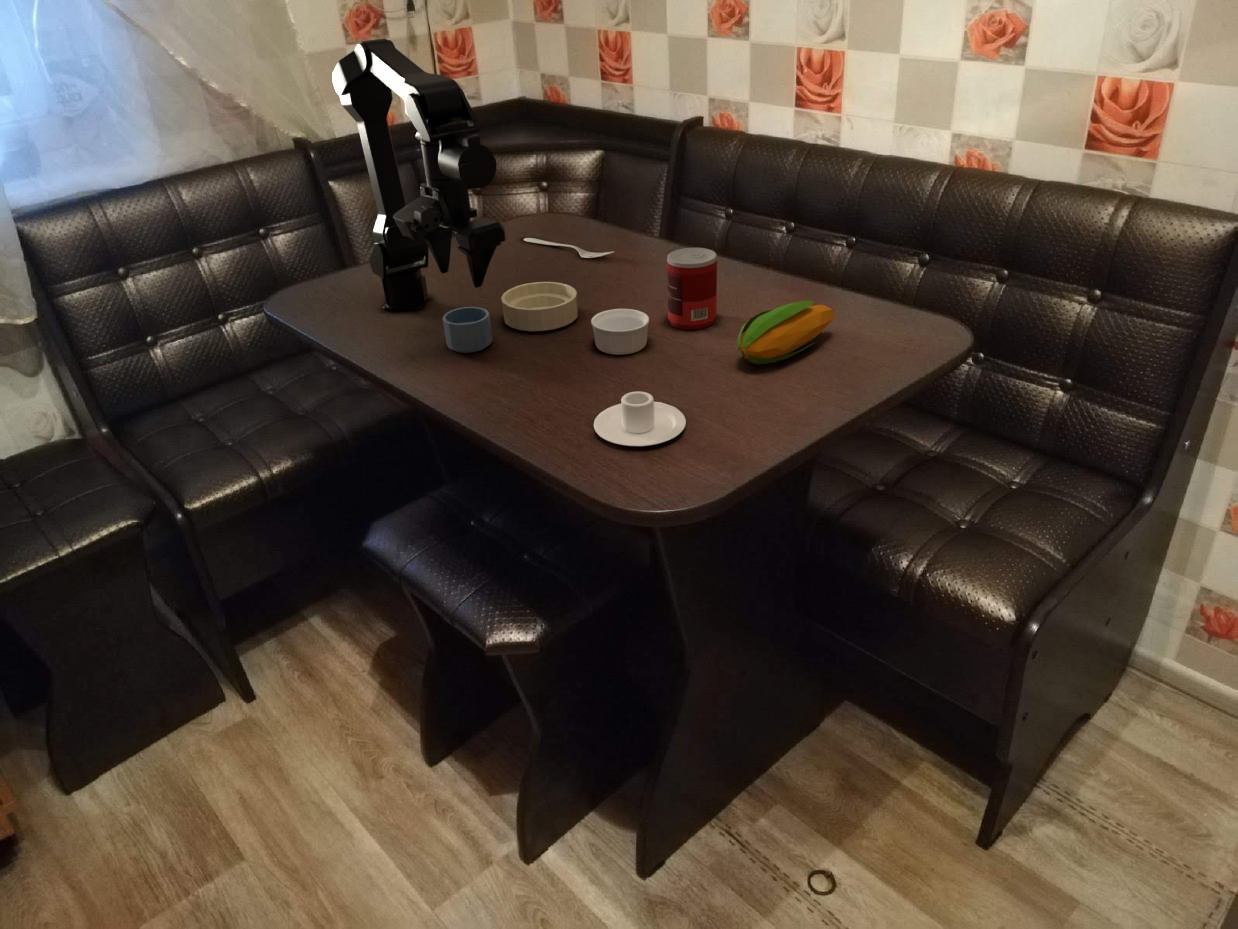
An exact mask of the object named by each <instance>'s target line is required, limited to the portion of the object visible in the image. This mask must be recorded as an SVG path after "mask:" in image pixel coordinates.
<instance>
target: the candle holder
mask: <svg viewBox="0 0 1238 929" xmlns="http://www.w3.org/2000/svg"><path fill="white" fill-rule="evenodd" d="M654 399H655V398H654V396H653V395H652V394H651V393H649V392H647V391H646V392H645V391H630V392H628V393H625V394H624V395H622V397H621V399H620V403H618V404H617V403H616V404H614V405H611V406H609V407H608V408H606V409H604V410H602V411H601V412H600V413H599V414H598V415H597V416H596V417H595V418H594V421H593V428H594V431H595V433H597V435H598V436H599V437H600V438H602V439H603V440H605V441H607V442H609V443H612V444H616V445H621V446H627V447H648V446H654V445H659V444H663V443H665V442H668V441H670V440H673V439H675V438H676V437H677V436H679V435H680V434H681V433H682V432H683V431H684V429H685V428H686V425H687V420H686V416H685V414H684V413H683V412H682V411H680V410H679V409H678V408H677V407H676V406H673V405H671V404H667V403H664V402H660V401H655V400H654Z"/></svg>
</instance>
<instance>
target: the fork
mask: <svg viewBox="0 0 1238 929" xmlns="http://www.w3.org/2000/svg"><path fill="white" fill-rule="evenodd" d="M523 241H525V242H527V243H534V244H539V245H547V246H554V247H566V248H571V249H574V250H576V251H577V252H578V254H579V257H581V258H584V259H595V258H600V257H604V256H605V257H606V256H608V255H610V254H613V253H615V251H614V250H613V251H606V252H595V251H594V252H593V251H588V250H584V249H582V248H580V247H578V246H577V245H574V244H573V245H572V244H564V243H557V242H553V241H549V240H543V239H539V238H535V237H534V238H533V237H525V238H523Z"/></svg>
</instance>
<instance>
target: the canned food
mask: <svg viewBox="0 0 1238 929" xmlns="http://www.w3.org/2000/svg"><path fill="white" fill-rule="evenodd" d="M666 258H667V259H666V278H667V279H666V282H667V284H666V286H667V318H668V321H669V323H670V325H671V326H672V327H674V328H676V329H681V330H687V331H692V330H694V331H695V330H701V329H705V328H708V327H710V326H711V325H713V324H714V323H715V322H716V318H717V305H718V304H717V303H718V302H717V301H718V300H717V299H718V296H717V295H718V294H717V292H718V255H717V253H716V252H715V251H714V250H712V249H709V248H706V247H683V248H679V249H676V250H672V251H671V252H669V254H667V257H666Z"/></svg>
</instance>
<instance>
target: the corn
mask: <svg viewBox="0 0 1238 929" xmlns="http://www.w3.org/2000/svg"><path fill="white" fill-rule="evenodd" d="M813 304H814V301H813V300H801V301H793V302H790V303H787V304H784V305H781V306H779V307H776V308H774V309H770V310H769V309H768V310H765V311H762V312H759V313H758V314H756V315H753V316H752V317H750V318H749V319H748V320H747V321H746V322H745V323H744V324H743V325H742V326H741V327H740V330H739V333H738V335H737V339H736V345H737V347H738V351H739V354H740V356H741V359H743V360H745V361H748V362H749V363H750V364H754V365H759V366H760V365H767V364H772V363H773V364H774V363H776V362H781V361H784V360H786V359H789V358H790V357H793V356H795V355H798V354H800V353H801V352H803V351H804V350H806V349H808V348H809V347H811V346H813V345H814V344H816V342H812V343H811V344H809V345H807V344H808V343H810V342H811V341H812V340H813V339H815V338H816V337H817V336H818V335H819V334H820V333H822V331H824V330H825V328H827V327H828V326H829V325H830V324H831V323H832V322H833V321H834V320H835V310H834V309H832V308H830V307H829V306H827V305H824V304H816V305H813ZM798 349H799V350H798Z"/></svg>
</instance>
